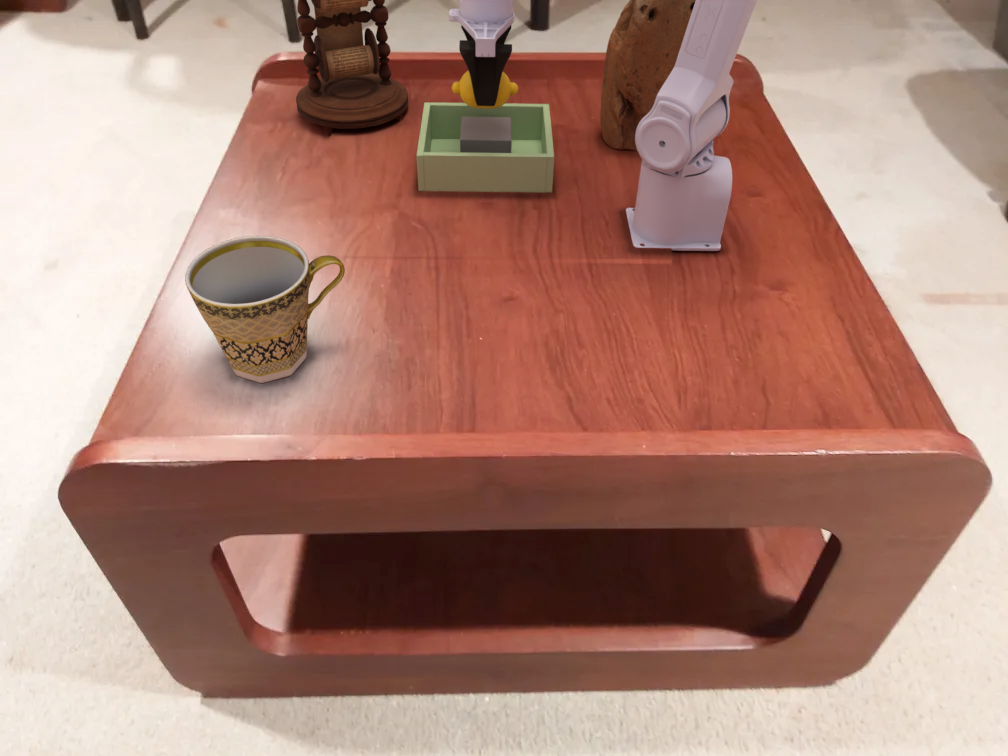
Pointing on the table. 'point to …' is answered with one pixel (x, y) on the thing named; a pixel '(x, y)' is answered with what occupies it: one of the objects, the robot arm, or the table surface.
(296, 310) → the ceramic cup
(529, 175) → the crate
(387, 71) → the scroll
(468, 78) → the lemon
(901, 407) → the table surface
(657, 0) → the brown upright lump
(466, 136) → the grey block
